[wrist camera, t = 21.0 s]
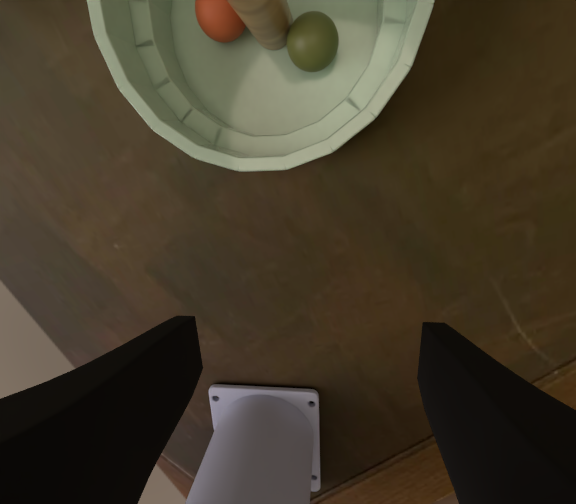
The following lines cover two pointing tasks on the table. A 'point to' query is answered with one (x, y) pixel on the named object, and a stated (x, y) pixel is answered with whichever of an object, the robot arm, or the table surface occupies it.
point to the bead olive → (312, 41)
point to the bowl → (256, 78)
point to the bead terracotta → (218, 20)
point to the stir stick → (265, 20)
